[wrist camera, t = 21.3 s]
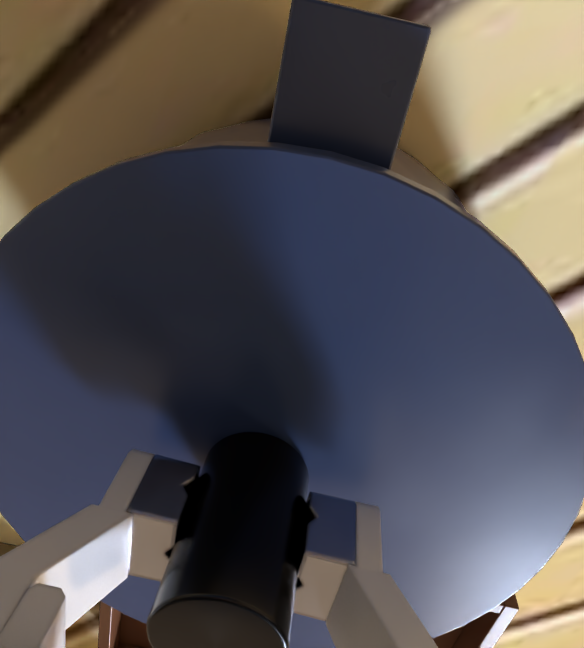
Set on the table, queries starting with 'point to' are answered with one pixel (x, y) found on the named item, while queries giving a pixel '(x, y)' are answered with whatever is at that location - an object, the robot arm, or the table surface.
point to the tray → (459, 644)
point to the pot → (344, 88)
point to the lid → (288, 382)
